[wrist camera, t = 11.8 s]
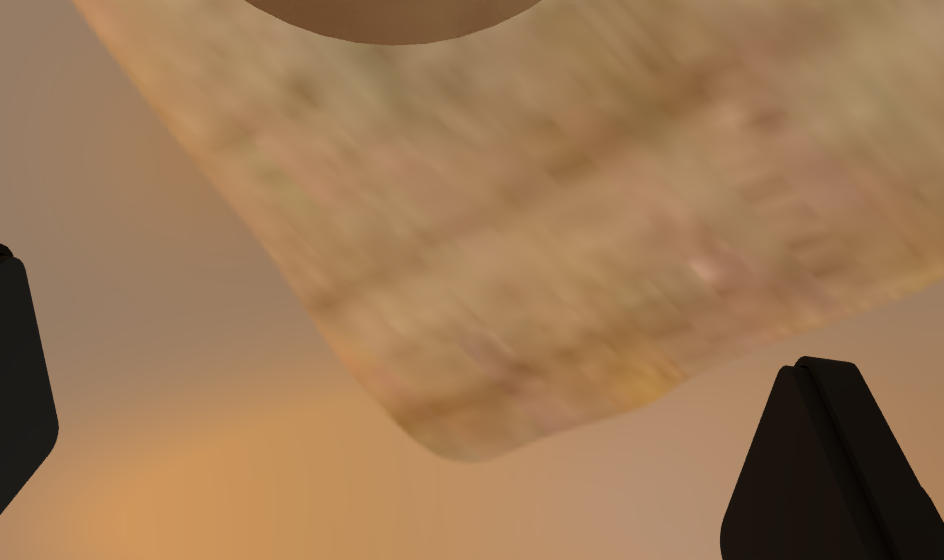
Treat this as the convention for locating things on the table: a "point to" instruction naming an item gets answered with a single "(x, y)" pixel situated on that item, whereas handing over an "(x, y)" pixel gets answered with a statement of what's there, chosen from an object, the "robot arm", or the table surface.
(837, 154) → the table surface
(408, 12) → the bronze disc on slab
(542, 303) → the table surface
